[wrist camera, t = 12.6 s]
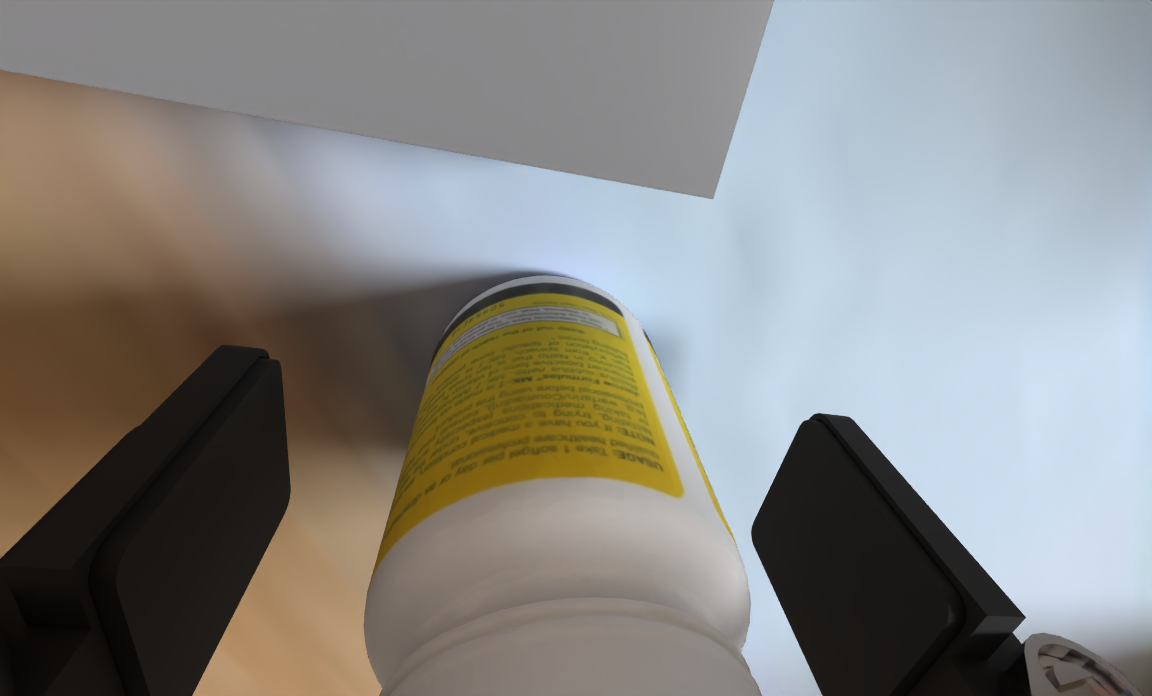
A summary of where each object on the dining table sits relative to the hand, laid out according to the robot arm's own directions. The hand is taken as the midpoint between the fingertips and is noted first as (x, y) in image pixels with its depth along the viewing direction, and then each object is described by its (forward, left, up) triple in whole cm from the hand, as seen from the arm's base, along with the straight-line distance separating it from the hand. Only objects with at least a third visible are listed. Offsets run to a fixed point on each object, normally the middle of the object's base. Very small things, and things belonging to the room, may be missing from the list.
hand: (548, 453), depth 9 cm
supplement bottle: (0, 0, -3) cm, 3 cm away
